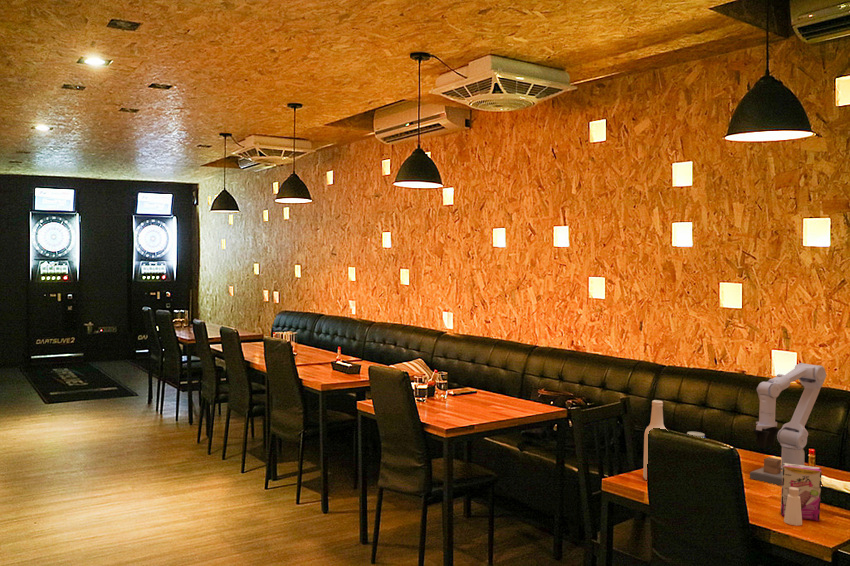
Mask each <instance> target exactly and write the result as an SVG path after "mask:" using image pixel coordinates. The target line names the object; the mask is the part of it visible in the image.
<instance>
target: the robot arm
mask: <svg viewBox="0 0 850 566" xmlns="http://www.w3.org/2000/svg"><path fill="white" fill-rule="evenodd" d="M794 366H795V367H794V368H793V369H791V370H790V371H788V372H787V373H786V374H781V373H778V374H776V376H775V377H772V378H769V380H767V381H761V382H760V383H759V384H758V386H757V387H756V392H757V395H758V399H759V414H758V421H755V426H756V427H755V428H753V432H754V435H755V438H756V440H757V447H758V448H761V449H766V445H767V446H771V447H772V446H774V445H775V441H776V439H777V441H778V443H779V445H780V446H781V459H780V460H781V470H782V468H783V463H789V464H796V465H804V466H805V457H806V456H805V454H806V453H805V450H804V449H805V447H806V445H807V444H808V436H809V432H808V430H807V429H806V428H805V426H806V424H807V423H808V420H809V418H810V414H811V412H812V410H813V408H814V405H815V404H816V400H817V399H818V396H819V394H820V390H821V388H822V387H823V385H824V382H825V381H826V378H827V372H826V370H825V369H826V368H825V367H824V366H823V365H818V364H811V363H803V362H800V363H798V364H796V365H794ZM797 380H799V382H800V384H801V385H802V386H803V388H804V389H803V392H802V393H801V396H800V398H799V401H798V403H797V405H796V408H795V409H794V412H793V415H792V416H791V419H790V421H789V422H786V423H784V424H782V426H781V429H780V427H778V421H776V406H777V404H776V403H777V402H776V401H777V398H778V397H779V396H780V394H781V393H782V391H784V390H786V389H787V388H789V387H790V386H791V383H792V382H795V381H797Z"/></svg>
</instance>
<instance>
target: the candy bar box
mask: <svg viewBox="0 0 850 566" xmlns="http://www.w3.org/2000/svg"><path fill="white" fill-rule="evenodd" d="M821 469H822V468H821V467H817V466H811V465H810V466H809V465H805V464H804V465H796V464H789V463H783V468H782V469H781V471H782V486H781V493H780V495H781V496H780V497H781V498H780V515H781V516H783V517H784V516H785V509H786V502H787V496H788V495H789V488H790V487H795V488H798V489H799V494H798V496H800V501H801V514H802V520H810V521H817V522H820V514H821V493H822V492H821V491H822V470H821Z"/></svg>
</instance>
